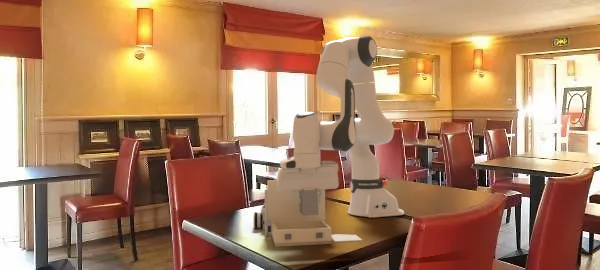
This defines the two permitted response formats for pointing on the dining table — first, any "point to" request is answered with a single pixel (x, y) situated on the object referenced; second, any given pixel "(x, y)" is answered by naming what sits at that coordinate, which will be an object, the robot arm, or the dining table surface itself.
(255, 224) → the camera
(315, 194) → the block
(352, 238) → the mat
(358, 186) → the robot arm
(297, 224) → the case
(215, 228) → the dining table surface
